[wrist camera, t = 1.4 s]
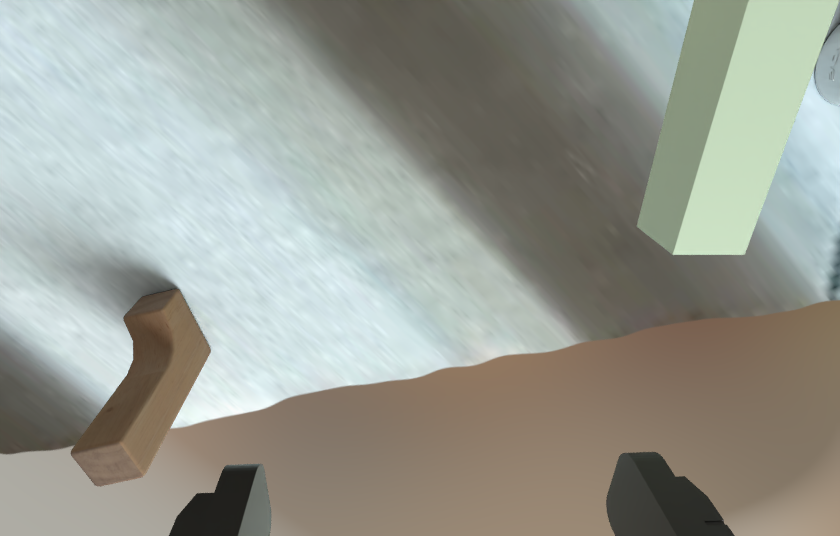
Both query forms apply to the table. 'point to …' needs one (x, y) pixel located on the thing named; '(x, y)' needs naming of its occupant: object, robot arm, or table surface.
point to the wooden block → (145, 390)
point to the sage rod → (730, 120)
